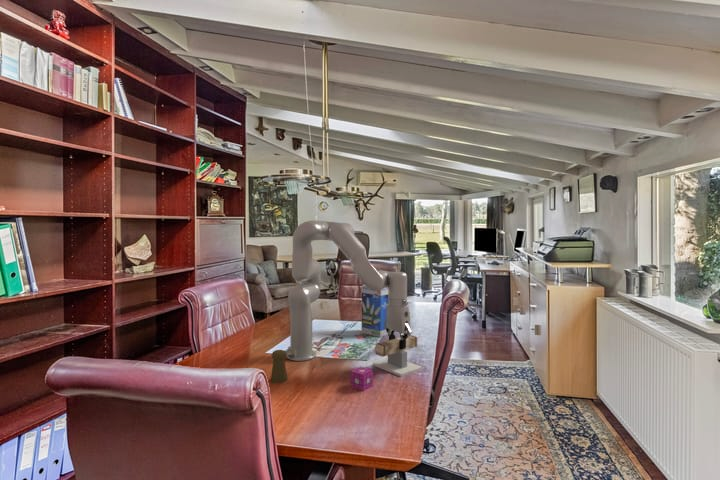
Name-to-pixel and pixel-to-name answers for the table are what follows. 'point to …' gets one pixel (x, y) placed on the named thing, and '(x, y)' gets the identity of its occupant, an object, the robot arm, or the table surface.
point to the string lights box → (374, 311)
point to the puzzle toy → (362, 378)
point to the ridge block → (398, 364)
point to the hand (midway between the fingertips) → (397, 346)
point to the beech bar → (394, 346)
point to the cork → (279, 367)
